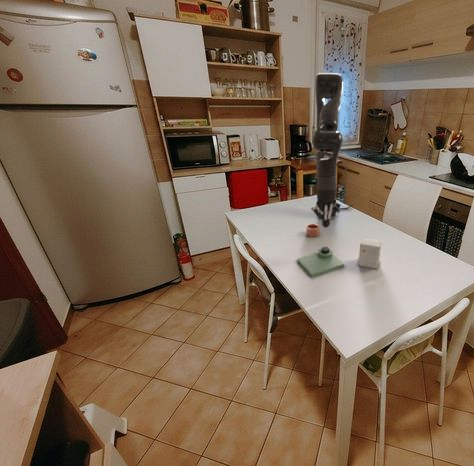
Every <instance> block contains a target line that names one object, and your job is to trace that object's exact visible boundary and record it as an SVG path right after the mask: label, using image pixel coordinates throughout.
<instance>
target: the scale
mask: <svg viewBox="0 0 474 466" xmlns="http://www.w3.org/2000/svg"><path fill="white" fill-rule="evenodd" d="M322 248H323V247H321V248H319V249H318V250H317V252H316V253H311V254H308V255H305V256H302V257H298V258H297V262H298V263H299V265H300V266H301V267H302V269H304V270H305V271H306V273H307V274H309V276H310V277H311V278H314V277H319V276H320V275H323V274H326V273H329V272H332V271H335V270H338V269H341V268H343V267H345V266H344V265H345V264H344V262H342V261H341V260H340V259H339V258H338V257H336V256H335V254H333V250H332V249H331V248H329V253H327V254H323V253H322Z"/></svg>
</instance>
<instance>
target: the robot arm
mask: <svg viewBox="0 0 474 466" xmlns="http://www.w3.org/2000/svg"><path fill="white" fill-rule="evenodd" d="M343 84H344V81H343V76H342V74H340V73H337V72H336V73H332V72H331V73H330V72H319V73H318V74H316V77H315V102H316V103H315V104H316V130H315V132H314V133H313V136H312V148H313V149H314V150H315V151H316V167H315V168H316V169H315V171H316V175H317V176H316V203H315V205H314V207H311V208H310V210H311V211H312V213H314V215H316V217H318V219H320V220H321V226H322V227H323V228H324V229H328V228H329V226H330V224H331V222H330V221H331V220H332V219H334V218H336V217H337V213H339V212H340V211H341V210H348V209H350V208H351V207H354V205H353V204H350V205H349V206H348V207H341V206H342V205H341V203H339V202H337V199H336V198H337V184H338V183H337V181H338V180H337V168H338V167H337V165H338V159H339V155H340V152H341V149H342V146H343V143H344V138H343V135H342V133H341V132H340V131H338V129H339V111H340V108H341V102H342V96H343V89H344V88H343V87H344V85H343ZM325 100H328V101H327V102H326V103H325ZM327 153H331V154H330V155H329V156H327V157H325V155H326V154H327Z"/></svg>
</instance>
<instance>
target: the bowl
mask: <svg viewBox="0 0 474 466" xmlns="http://www.w3.org/2000/svg"><path fill="white" fill-rule="evenodd" d="M305 230H306V235H307V237H309V238H317V237H319V234H320V225H318V224H316V223H309V224H307V225H306V228H305Z"/></svg>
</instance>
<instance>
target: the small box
mask: <svg viewBox="0 0 474 466" xmlns="http://www.w3.org/2000/svg"><path fill="white" fill-rule="evenodd" d="M381 249H382V240H378V239H372V238H365V237H362V239H361V241H360V243H359V253H358V266H361V267H367V268H372V269H377V270H378V267H379V263H380V257H381Z"/></svg>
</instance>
